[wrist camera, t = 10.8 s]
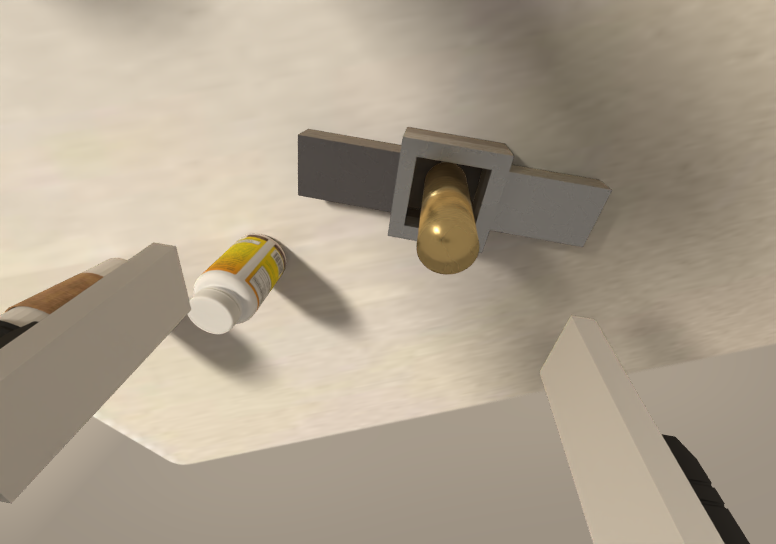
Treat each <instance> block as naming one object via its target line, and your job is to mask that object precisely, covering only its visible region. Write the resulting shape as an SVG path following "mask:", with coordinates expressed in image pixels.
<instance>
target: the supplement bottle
mask: <svg viewBox="0 0 776 544" xmlns="http://www.w3.org/2000/svg"><path fill="white" fill-rule="evenodd" d="M285 268H286V256H285V253H284V251H283V249H282V248H281V247H280V245H279V244H278V243H277V242H276V241H274V240H273V239H271V238H270V237H268V236H265V235H262V234H248V235H245V236H243V237H241V238H240V239H239V240H238V241H237V242H236V243H235V244H234V245H233V246H231V247H230V248H229V249H228V250H227V251H226V252H225V253H224V254H223V255H222V256H221V257H220V258H219V259H218V260H216V261H215V262H214V263H213V264H212V265H211V266H210V267H209V268H208V269H207V270H206V271H205V272H204V273H203V274H202V275H201V276H200V277H199V278H198V279H197V280H196V282H195V285H194V296H193V297H192V298H191V299H190V300H189V301H190V306H191V311H190V312H189V313H188V316H189V318H190V320H191V321H192V322H193V323H194V324H195V325H196V326H197V327H199V328H200V329H202V330H204V331H206V332H208V333H212V334H224V333H227V332H229V331H230V330H231V329H232V328H233V326H234V325H235V324H238V323H243V322H245V321H247V320H249V319H250V318H251V317H252V316H253V315H254V314H255V312H256V311H257V310H258V308H259V307H260V305H261V304H262V302H263V301H264V299H265V298H266V297H267V295H268V294H269V292H270V291H271V290H272V288H273V287H274V285H275V284H276V282H277V281H278V279H279V278H280V277H281V275H282V274H283V272H284V270H285Z"/></svg>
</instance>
